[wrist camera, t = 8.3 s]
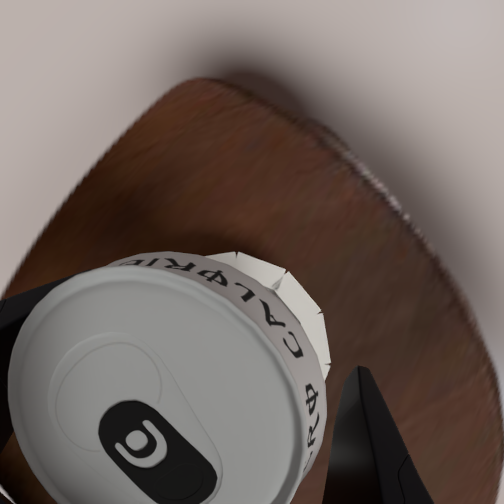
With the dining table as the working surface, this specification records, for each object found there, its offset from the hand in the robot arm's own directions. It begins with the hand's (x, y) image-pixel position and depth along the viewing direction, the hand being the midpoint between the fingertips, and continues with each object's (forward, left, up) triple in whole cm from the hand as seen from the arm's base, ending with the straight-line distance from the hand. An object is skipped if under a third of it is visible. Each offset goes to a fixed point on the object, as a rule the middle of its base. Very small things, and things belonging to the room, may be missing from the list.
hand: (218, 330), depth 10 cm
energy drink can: (-1, -1, -9) cm, 9 cm away
